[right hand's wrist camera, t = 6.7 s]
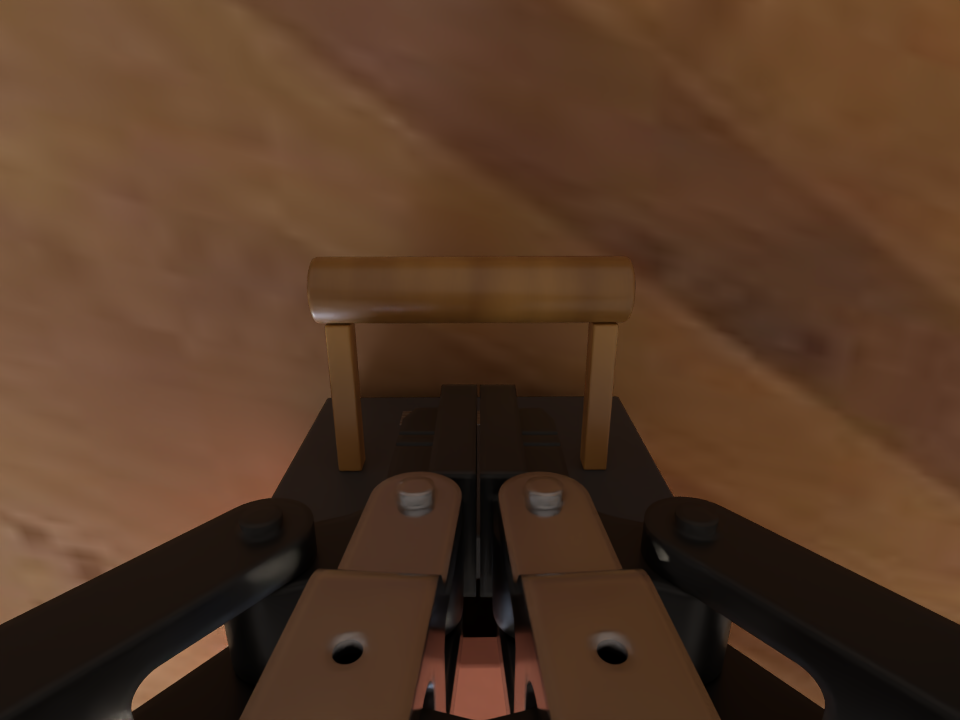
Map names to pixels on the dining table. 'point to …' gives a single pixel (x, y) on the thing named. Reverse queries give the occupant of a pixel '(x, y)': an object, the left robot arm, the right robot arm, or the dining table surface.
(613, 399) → the drawer
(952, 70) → the dining table surface
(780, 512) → the dining table surface
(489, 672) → the cabinet
